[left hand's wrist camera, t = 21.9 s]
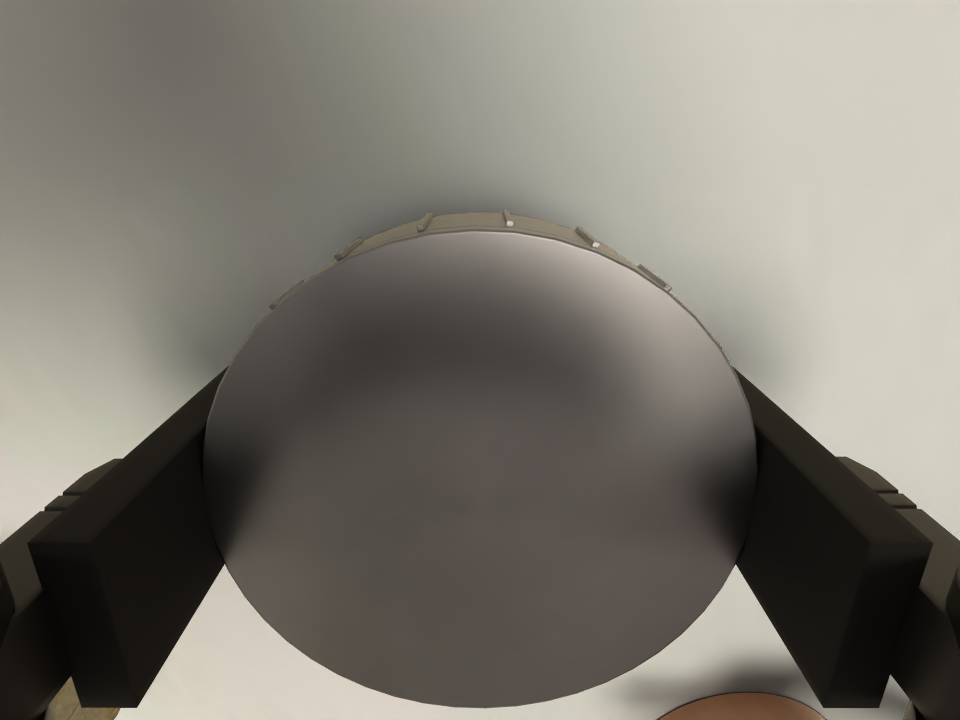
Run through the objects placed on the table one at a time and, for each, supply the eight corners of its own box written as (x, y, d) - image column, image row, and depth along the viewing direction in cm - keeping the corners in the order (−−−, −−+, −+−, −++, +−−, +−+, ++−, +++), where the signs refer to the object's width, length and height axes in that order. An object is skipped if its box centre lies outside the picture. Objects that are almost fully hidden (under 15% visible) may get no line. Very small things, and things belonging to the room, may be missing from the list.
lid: (625, 654, 14) (652, 745, 12) (228, 578, 13) (179, 662, 11) (789, 279, 11) (866, 312, 9) (275, 150, 10) (220, 151, 8)
